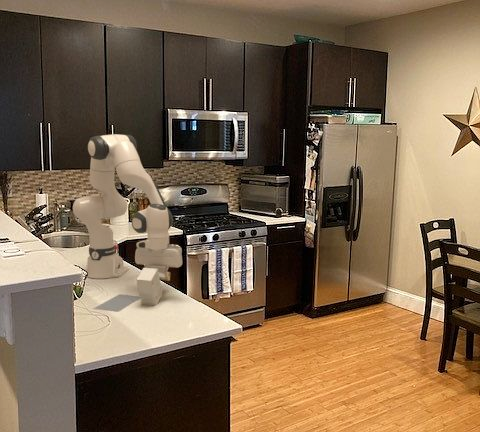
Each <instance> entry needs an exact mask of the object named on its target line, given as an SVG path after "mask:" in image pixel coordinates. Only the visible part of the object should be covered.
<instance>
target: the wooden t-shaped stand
mask: <svg viewBox="0 0 480 432" xmlns="http://www.w3.org/2000/svg"><path fill="white" fill-rule="evenodd" d="M143 268H154V269H158V273H159V278H160V281H161V280H162V281H168V282H170V281H171V274H172V273H171V272H170V271H168V270H167V268H168V267H166V266H154V265H144V267H143ZM168 269H169V268H168Z"/></svg>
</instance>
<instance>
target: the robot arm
mask: <svg viewBox="0 0 480 432" xmlns="http://www.w3.org/2000/svg"><path fill="white" fill-rule="evenodd" d="M137 148H138V147H137V140H136V139H135V137H134V136H133V135H130V134H115V133H114V134H113V133H111V134H103V135H96V136H92V137H90V138H89V140H88V142H87V152H88V154H89V156H90V167H89V184H90V185H91V187H93V188H94V189H95V190H98V191H99V192H100V195H91V196H89V195H87V196H81V197H79V198H76V199H75V200H74V202H73V203H72V204H73V205H72V212H73V214H74V216H75V217H76V218H77V219H79V220H80V221H81V222H82V223H83V224H84V226H86V229H87V230H88V231H87V232H88V236H89V237H88V238H89V247H88V254H89V256H88V257H87V263H86V271H87V272H88V276H87V277H88V278H91V279H97V280H98V279H110V278H120V277H121V276H122V275H123V274H125V273H126V272H128V270H129V267H128V266H125V265H124V260H123V258H122V257H121V256H120V255H118V254H117V251H116V250H118V249H119V246H118V245H114V232H113V229H112V228H111V227H110V226H107V225H105V224H102V219H111V218H119V217H121V216H125V214H126V213H127V209H128V202H127V200H126V199H125V197H124V196H123V195H121V194H120V193H119V191H118V190H117V188H116V185H115V171H116V174H117V178H118V179H119V180H120V182H122V184H124V185H126V186H129V187H132V188H134V189H138V190H140V191H142V192H143V193H145V195H146V197H147V198H148V200H149V203H150V204H149V205H148V206H147V207H146V208H145V209H142V210H138V211H136V212H135V213H133V215H132V218H131V226H132V227H131V228H133V230H134V231H135V232H136V233H137V234H147V238H146V239H144V240H140V241H138V242H136V249H135V254H134V261H135V264H136V265H143V266H145V265H154V266H166V267H168V268H167V271H168V270H169V268H180V267H182V265H183V255H182V253H183V249H182V247H181V246H180V245H179V244H172V243H171V244H170V234H169V230H170V228H171V227H172V226H173V224H174V223H173V222H174V218H173V214H172V212H171V210H170V209H169V207H167V205H166V202H165V200H164V199H163V196H162V194H161V192H160V190H159V188H158V186H157V184H156V182H155V179H154V178H153V177H152V176H151V175H150V174H148V173H147V171H146V170H145V168H144V167H143V164H142V162H141V159H140V155H139V153H138V151H137V150H138V149H137Z"/></svg>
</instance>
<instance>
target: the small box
mask: <svg viewBox="0 0 480 432" xmlns="http://www.w3.org/2000/svg"><path fill="white" fill-rule="evenodd" d="M136 286H137V289H138V293H139V296H140V303H141V305H150V306H151V305H152V306H157V305H158V304H159V302H160V300H161V298H162V296H163V295H164V293H163V289H162V284H161V279H160V278H159V273H158V269H154V268H144V267H143V268H142V269H141V271H140V273H139V274H138V276H137V278H136Z"/></svg>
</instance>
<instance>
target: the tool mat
mask: <svg viewBox="0 0 480 432" xmlns="http://www.w3.org/2000/svg"><path fill="white" fill-rule="evenodd" d="M139 300H141V298H140V295H131V294H129V295H128V294H122V293H119V294H117V295H116V296H114V297H112V298H110V299H108V300H106V301H105V302H102V303H101V304H99V305H97V306H95V307H94V308H93V309H94V310H101V311H106V312H107V311H109V312H117V313H119V312H121V311H122V310H124V309H125V308H127V307H129V306H131V305H132V304H133V303H135V302H137V301H139Z"/></svg>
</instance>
